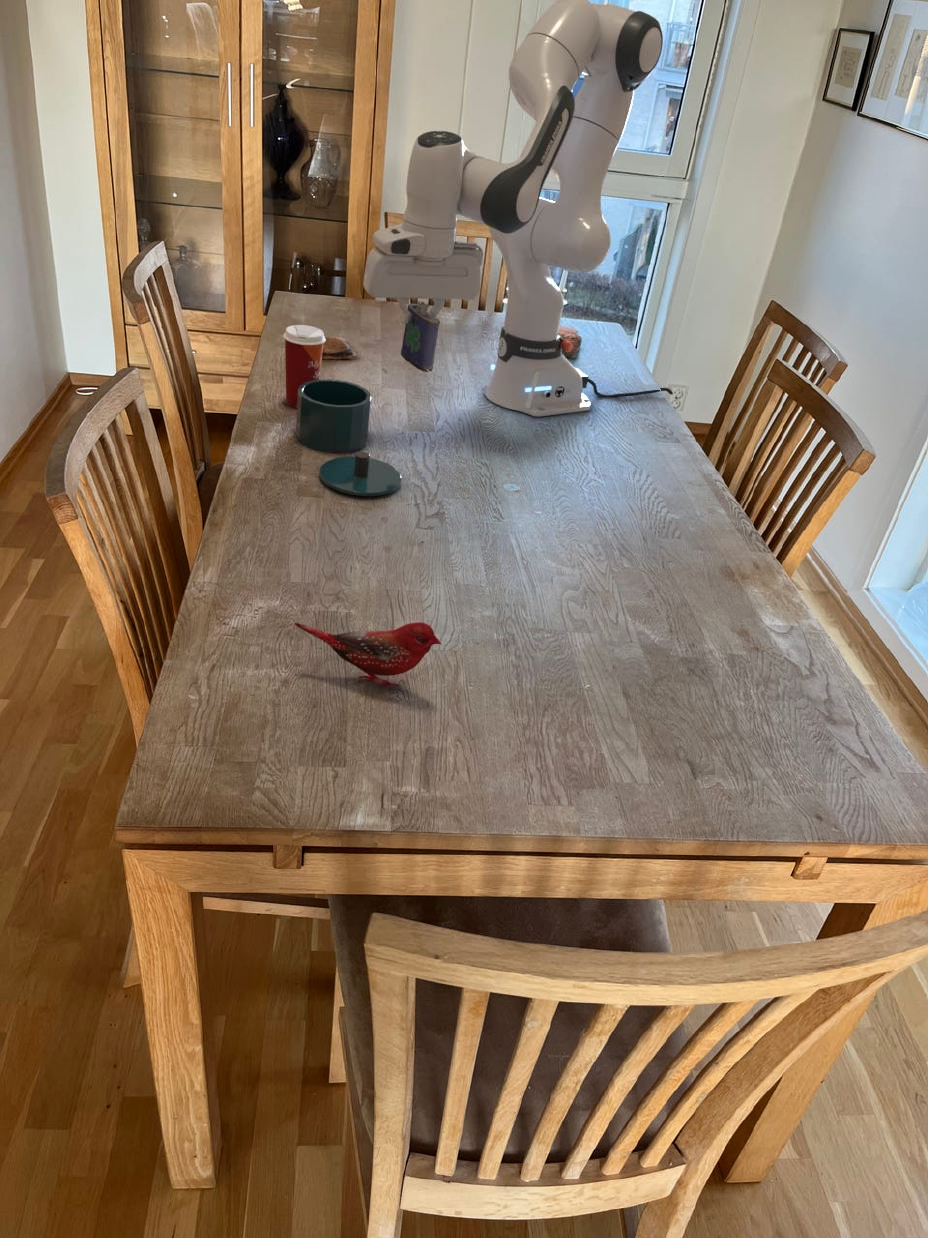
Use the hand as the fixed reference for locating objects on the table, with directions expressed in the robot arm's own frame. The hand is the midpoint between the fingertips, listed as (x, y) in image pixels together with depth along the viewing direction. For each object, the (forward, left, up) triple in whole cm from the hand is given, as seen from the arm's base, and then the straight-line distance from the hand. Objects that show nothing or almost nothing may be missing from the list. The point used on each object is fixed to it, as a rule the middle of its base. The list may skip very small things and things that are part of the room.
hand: (418, 322), depth 170 cm
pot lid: (+14, +17, -20) cm, 30 cm away
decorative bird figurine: (+30, +69, -21) cm, 78 cm away
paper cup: (+16, -16, -21) cm, 31 cm away
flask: (0, +1, -7) cm, 7 cm away
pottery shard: (-55, -48, -21) cm, 76 cm away
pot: (+14, 0, -21) cm, 25 cm away
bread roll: (+2, -43, -21) cm, 48 cm away
